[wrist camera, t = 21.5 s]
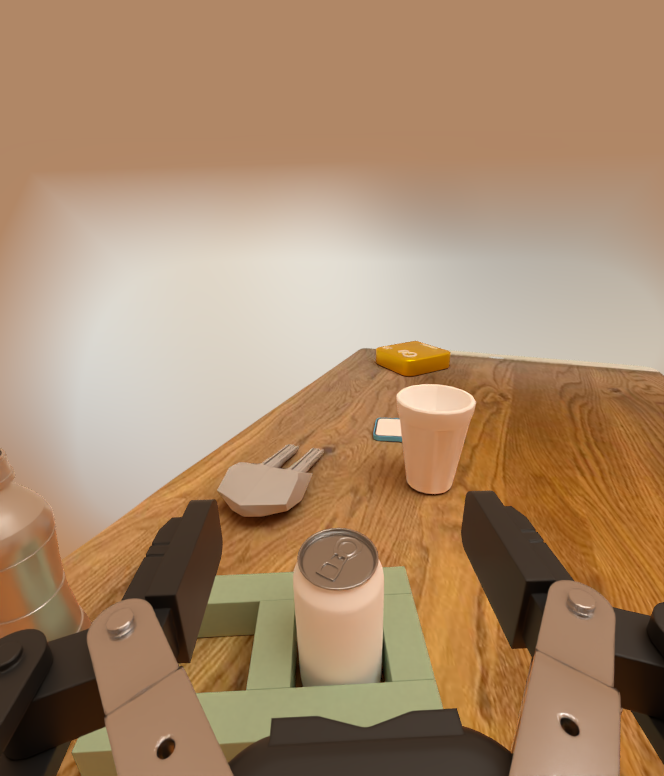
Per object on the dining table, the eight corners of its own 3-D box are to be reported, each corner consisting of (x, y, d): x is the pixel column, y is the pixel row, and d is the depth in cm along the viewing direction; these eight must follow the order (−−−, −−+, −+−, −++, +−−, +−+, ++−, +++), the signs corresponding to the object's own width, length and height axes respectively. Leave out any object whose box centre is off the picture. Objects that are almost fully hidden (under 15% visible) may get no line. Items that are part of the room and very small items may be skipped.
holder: (444, 768, 26) (449, 730, 24) (87, 790, 25) (70, 753, 24) (403, 597, 38) (404, 565, 36) (162, 610, 37) (154, 578, 36)
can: (394, 658, 32) (399, 543, 28) (356, 738, 27) (356, 612, 23) (328, 621, 36) (324, 513, 31) (283, 686, 30) (271, 568, 26)
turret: (334, 468, 63) (335, 440, 62) (278, 536, 45) (278, 498, 44) (278, 459, 66) (278, 432, 65) (204, 518, 48) (202, 482, 47)
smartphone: (376, 417, 74) (459, 420, 71) (376, 423, 74) (459, 426, 71) (372, 436, 67) (464, 440, 64) (372, 442, 67) (464, 446, 64)
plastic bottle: (93, 621, 36) (29, 427, 29) (108, 681, 31) (35, 464, 24) (6, 667, 32) (-94, 457, 25) (7, 743, 27) (-117, 508, 20)
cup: (386, 497, 52) (389, 408, 48) (399, 459, 61) (402, 381, 57) (465, 511, 49) (476, 417, 45) (466, 469, 58) (476, 387, 53)
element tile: (452, 367, 103) (454, 350, 101) (407, 378, 96) (408, 359, 95) (415, 354, 115) (416, 338, 114) (373, 362, 109) (373, 346, 107)
